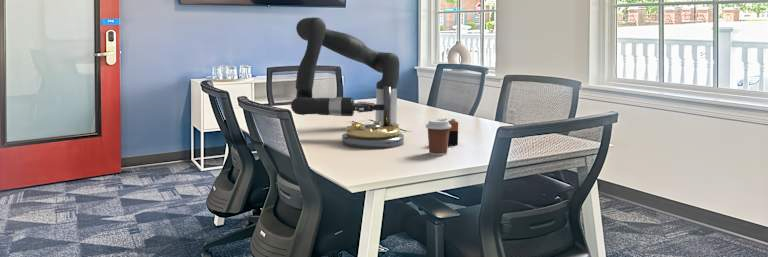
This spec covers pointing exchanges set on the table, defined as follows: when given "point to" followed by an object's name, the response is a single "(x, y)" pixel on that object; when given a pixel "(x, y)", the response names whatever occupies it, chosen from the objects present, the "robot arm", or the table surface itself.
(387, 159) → the table surface
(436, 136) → the coffee cup
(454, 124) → the battery
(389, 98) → the gold base with rod
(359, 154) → the table surface
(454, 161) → the table surface
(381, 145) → the cap housing
